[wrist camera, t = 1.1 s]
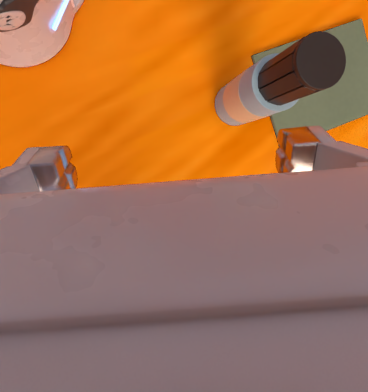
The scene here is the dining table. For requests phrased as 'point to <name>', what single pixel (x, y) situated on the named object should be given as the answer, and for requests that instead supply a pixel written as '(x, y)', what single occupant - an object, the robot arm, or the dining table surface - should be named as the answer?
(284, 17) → the dining table surface
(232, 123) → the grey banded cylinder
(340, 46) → the cap
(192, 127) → the dining table surface
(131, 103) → the dining table surface
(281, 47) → the mat
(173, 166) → the dining table surface
